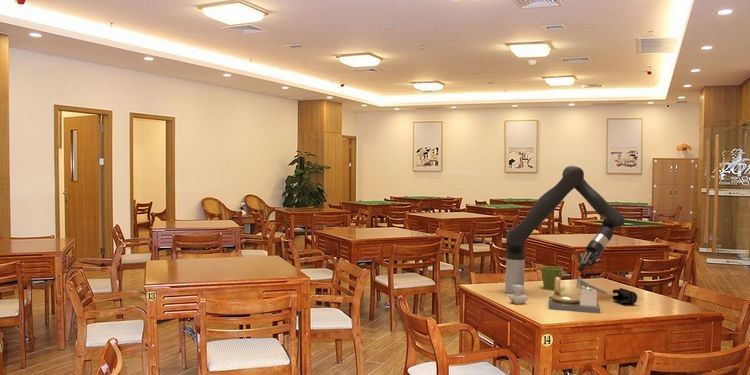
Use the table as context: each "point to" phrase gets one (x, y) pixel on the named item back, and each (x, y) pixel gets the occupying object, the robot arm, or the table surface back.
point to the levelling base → (572, 306)
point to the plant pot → (550, 276)
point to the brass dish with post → (563, 297)
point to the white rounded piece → (518, 295)
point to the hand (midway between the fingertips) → (579, 270)
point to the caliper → (588, 285)
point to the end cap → (624, 297)
